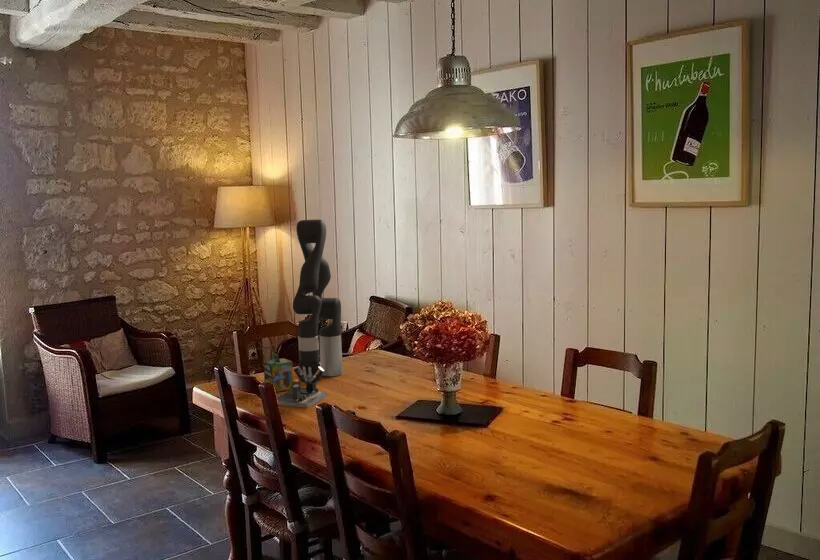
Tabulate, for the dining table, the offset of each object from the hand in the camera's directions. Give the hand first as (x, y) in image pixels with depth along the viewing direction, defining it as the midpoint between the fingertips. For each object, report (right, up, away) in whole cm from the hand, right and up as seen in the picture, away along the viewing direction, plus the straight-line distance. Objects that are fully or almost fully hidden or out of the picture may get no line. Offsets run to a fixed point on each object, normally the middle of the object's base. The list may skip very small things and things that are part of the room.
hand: (310, 393), depth 280 cm
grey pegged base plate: (-4, -3, +2) cm, 5 cm away
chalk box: (-15, -1, +19) cm, 24 cm away
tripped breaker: (-5, -1, +2) cm, 6 cm away
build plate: (+17, -7, -27) cm, 32 cm away
